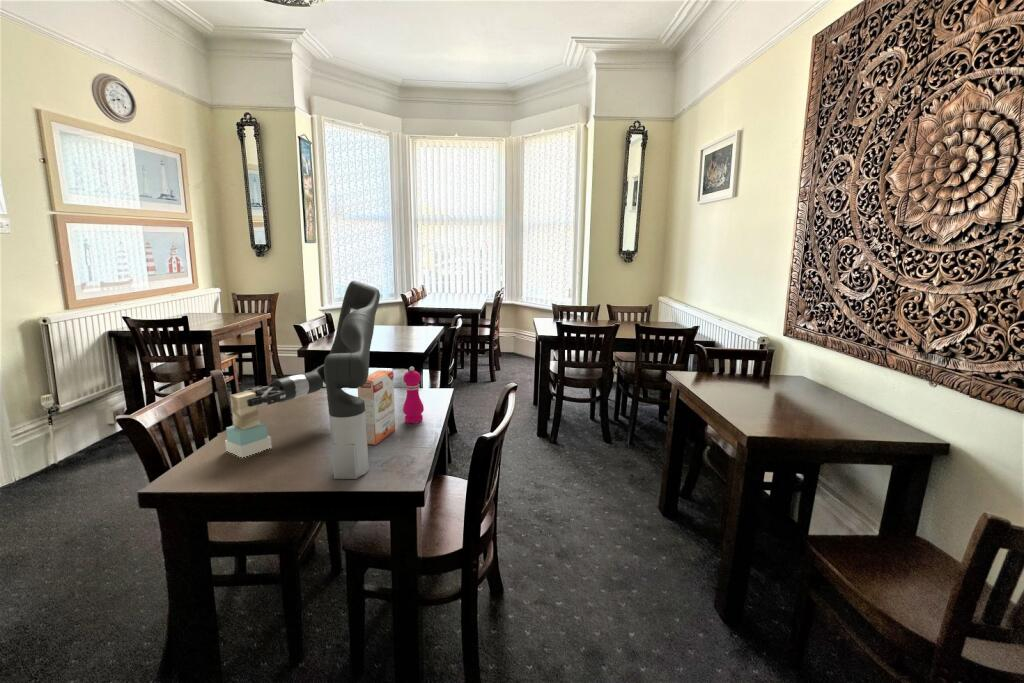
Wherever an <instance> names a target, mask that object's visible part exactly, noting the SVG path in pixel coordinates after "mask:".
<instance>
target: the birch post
mask: <svg viewBox="0 0 1024 683" xmlns="http://www.w3.org/2000/svg"><path fill="white" fill-rule="evenodd" d="M255 397H257V395H256V393H252V392H249V391H245V392H242V391H241V392H238V393H234V394H230V395H229V398H230V406H231V407H230V408H231V414H232V420H233V421H232V422H233V425H234V427H236V428H238V429H241V430H245V429H248V428H252V427H255V426H258V425H260V424H259V422H260V417H259V409H258V405H255V406H251V407H249V406H248V404H247V400H248V399H251V398H255Z"/></svg>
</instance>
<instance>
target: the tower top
mask: <svg viewBox="0 0 1024 683" xmlns="http://www.w3.org/2000/svg"><path fill="white" fill-rule="evenodd" d="M259 424H260V425H258V426H255V427H252V428H248V429H245V430H241V429H238V428H236V427H234V424H233V425H231V426H227V427H225V429H226V440H228V441H230V442H233V443H235V444H237V445H239V446H243V445H246V444H249V443H252V442H255V441H258V440H261V439H264V438H268V436H269V435H268V425H267V424H265V423H263V422H260V421H259Z"/></svg>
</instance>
